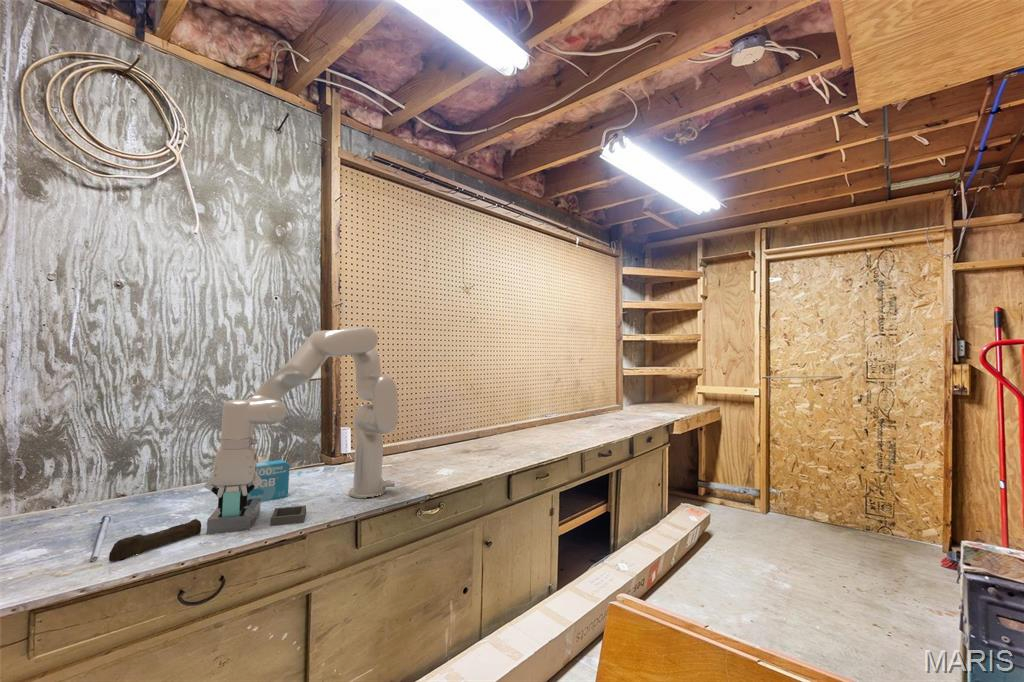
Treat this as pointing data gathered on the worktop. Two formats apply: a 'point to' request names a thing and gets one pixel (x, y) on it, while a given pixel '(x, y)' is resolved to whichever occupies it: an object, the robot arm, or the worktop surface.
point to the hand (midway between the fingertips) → (232, 509)
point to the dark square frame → (288, 515)
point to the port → (234, 519)
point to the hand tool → (152, 540)
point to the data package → (271, 481)
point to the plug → (232, 501)
